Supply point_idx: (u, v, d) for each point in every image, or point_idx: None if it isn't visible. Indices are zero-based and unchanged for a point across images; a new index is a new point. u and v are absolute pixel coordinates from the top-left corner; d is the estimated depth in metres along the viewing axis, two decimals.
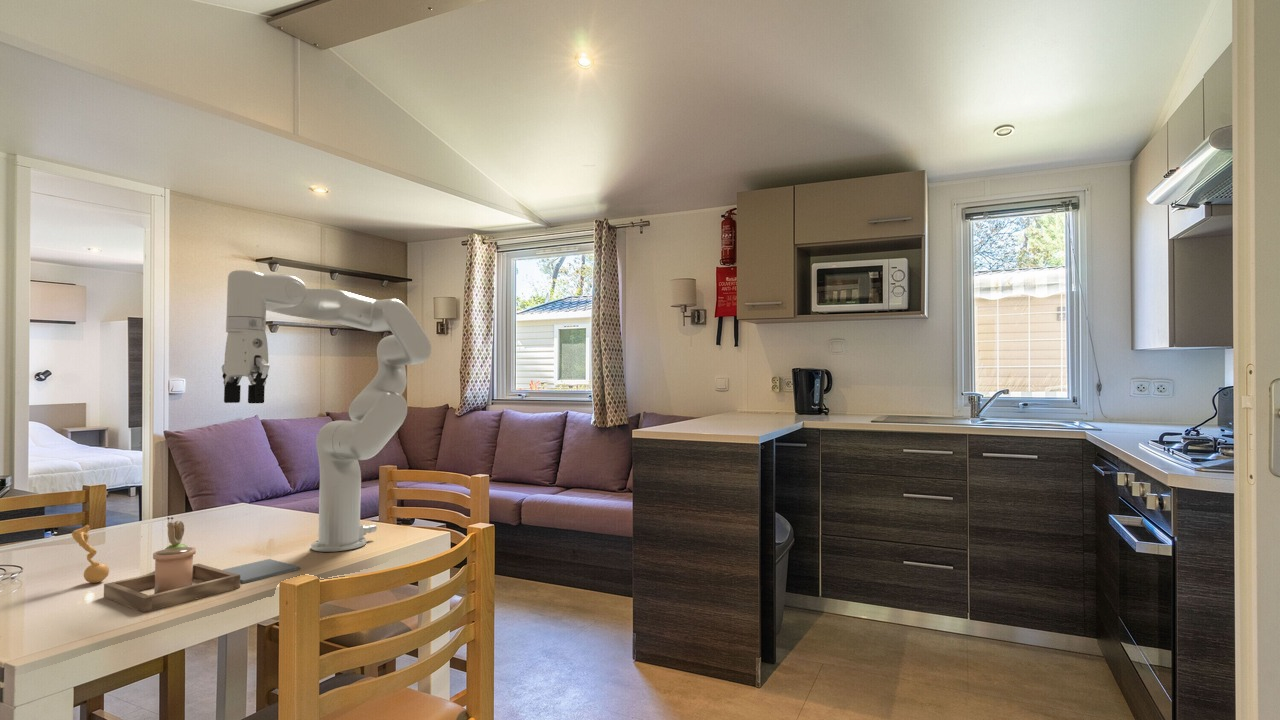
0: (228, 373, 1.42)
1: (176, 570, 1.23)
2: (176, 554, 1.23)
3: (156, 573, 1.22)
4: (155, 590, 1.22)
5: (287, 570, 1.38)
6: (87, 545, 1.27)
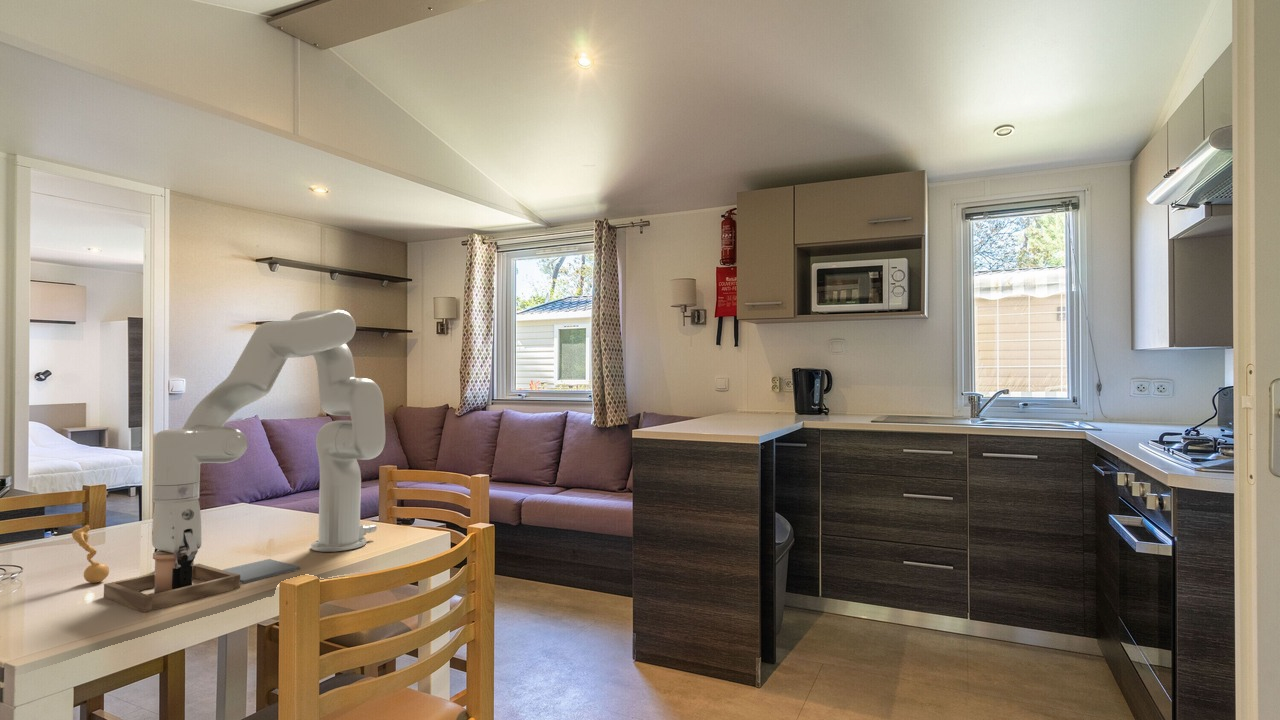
0: (155, 546, 1.25)
1: None
2: None
3: (156, 573, 1.22)
4: (155, 590, 1.22)
5: (287, 570, 1.38)
6: (87, 545, 1.27)
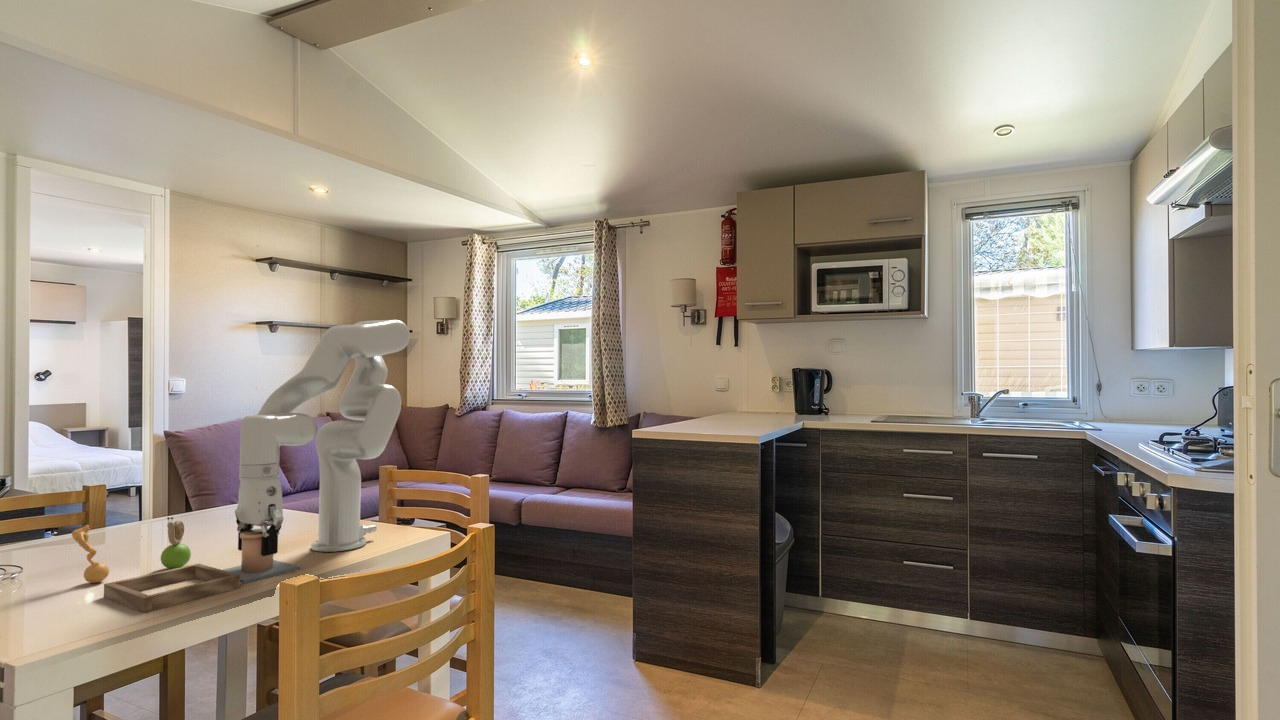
0: (241, 520, 1.39)
1: None
2: (261, 534, 1.37)
3: (243, 551, 1.36)
4: (242, 566, 1.36)
5: (287, 570, 1.38)
6: (87, 545, 1.27)
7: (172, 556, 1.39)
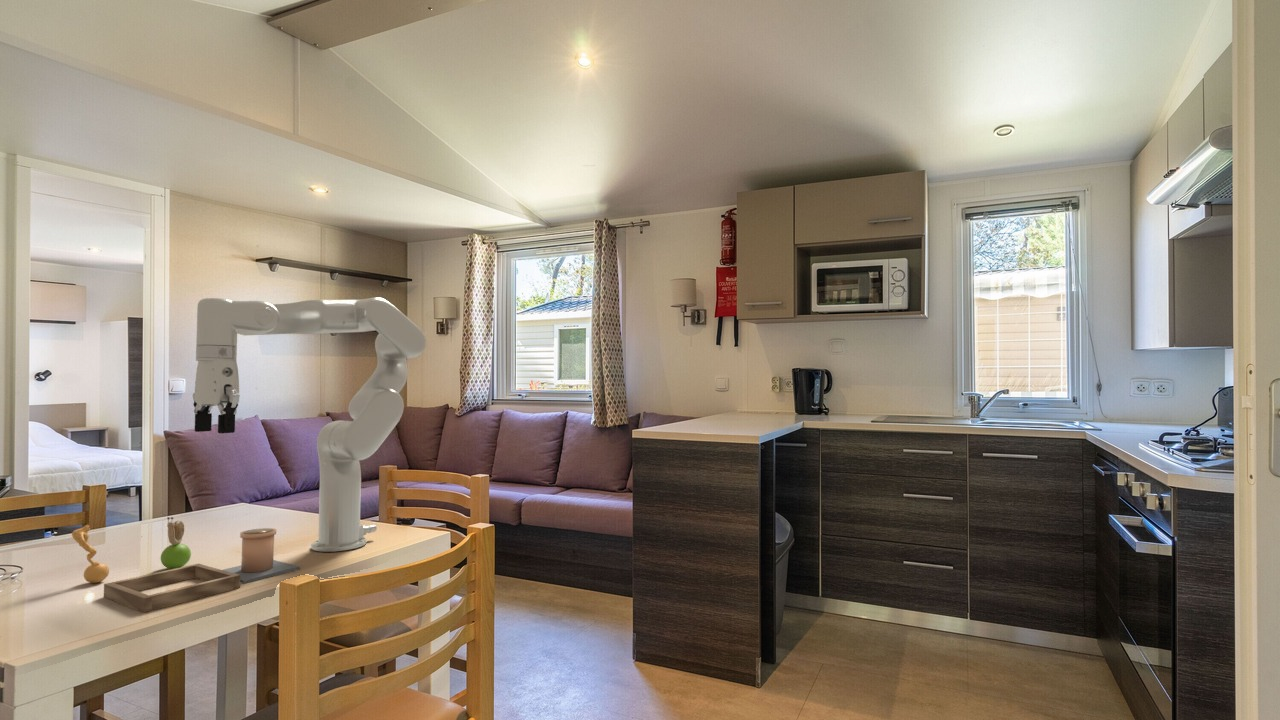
0: (198, 402, 1.40)
1: (261, 548, 1.37)
2: (261, 533, 1.37)
3: (243, 550, 1.36)
4: (242, 566, 1.36)
5: (287, 570, 1.38)
6: (87, 545, 1.27)
7: (172, 556, 1.39)
